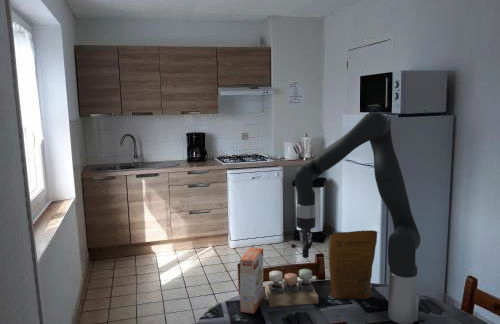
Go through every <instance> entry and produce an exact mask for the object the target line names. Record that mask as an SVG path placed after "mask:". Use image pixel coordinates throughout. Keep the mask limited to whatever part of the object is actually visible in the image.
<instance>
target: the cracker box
mask: <svg viewBox="0 0 500 324" xmlns="http://www.w3.org/2000/svg"><path fill="white" fill-rule="evenodd" d="M239 278H240V279H239V282H240V283H239V285H240V286H239V288H240V289H239V292H240V294H239V295H240V296H239V297H240V299H239V300H240V304H239V305H240V313H245V314H253V315H254V314H255V313H256V311H257V309H259V308H258V307H259V305H261V304H260V303H261V302H262V300H263V298H264V248H262V247H249V248H248V249H247V250H246V252H245V253H244V254H242V257H241V258H240V260H239Z"/></svg>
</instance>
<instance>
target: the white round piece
mask: <svg viewBox="0 0 500 324" xmlns="http://www.w3.org/2000/svg"><path fill="white" fill-rule="evenodd" d="M268 274H269V281H270V282H272V283H273V285H274V286H278V285H279V283H281V282H282V281H283V280H284V279H283V276H284V275H283V272H282V271H280V270H272V271H269V273H268Z"/></svg>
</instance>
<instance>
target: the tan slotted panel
mask: <svg viewBox="0 0 500 324" xmlns="http://www.w3.org/2000/svg"><path fill="white" fill-rule="evenodd" d="M264 292H265V296H266V298H267V301H268V304H269V307H284V306H285V307H286V306H287V307H288V306H295V305H296V306H299V305H311V304H319V294H318V293H317V292H316V289H315V288H314V285H313V284H312V282H311V281H310V280H308V284H303V280H302V281H297V283H296V284H294V287H288V284H286V283H285V282H279V285H278V286H274V285H273V282H272V283H268V284H265V285H264Z"/></svg>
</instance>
